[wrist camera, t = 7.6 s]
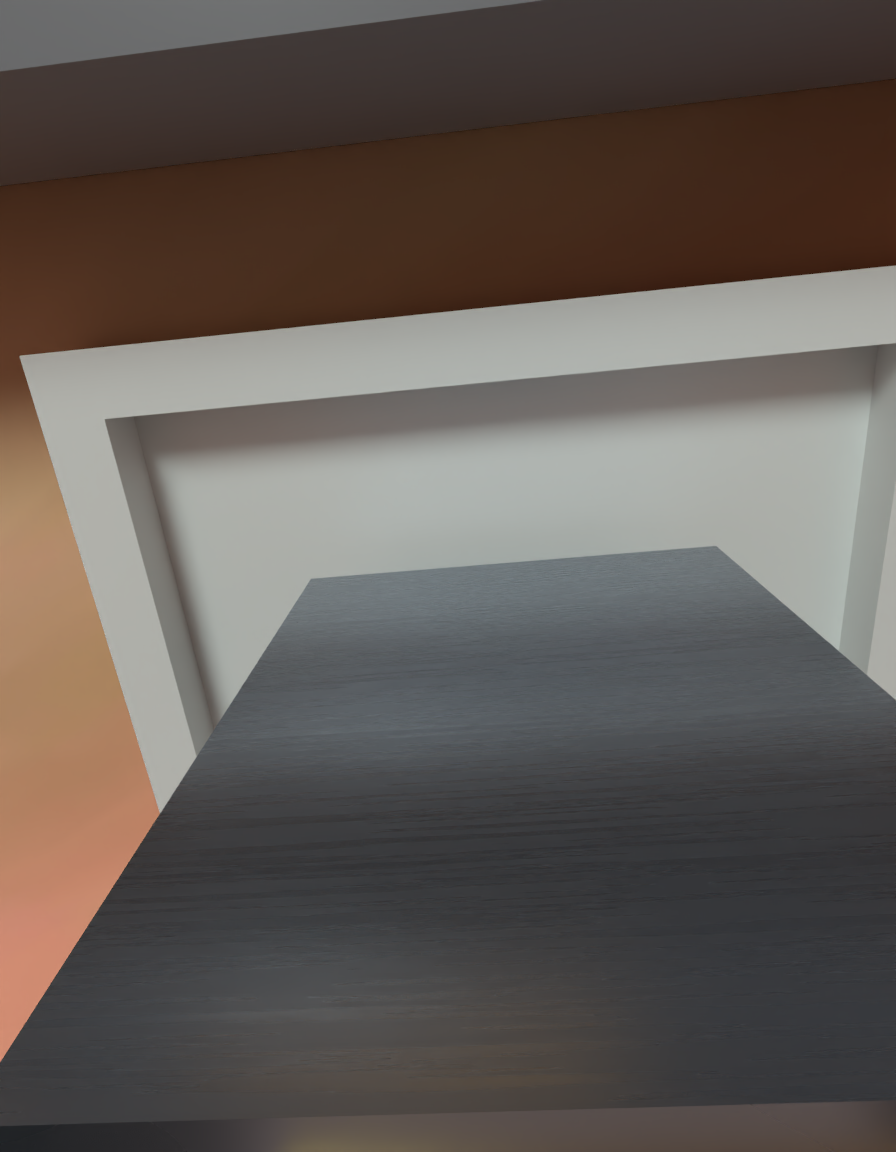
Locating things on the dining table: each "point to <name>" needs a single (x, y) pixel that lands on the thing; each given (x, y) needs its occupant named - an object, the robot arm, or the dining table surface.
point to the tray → (474, 465)
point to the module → (501, 886)
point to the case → (387, 69)
